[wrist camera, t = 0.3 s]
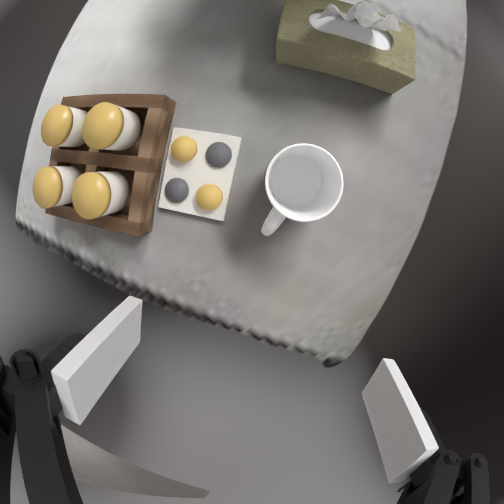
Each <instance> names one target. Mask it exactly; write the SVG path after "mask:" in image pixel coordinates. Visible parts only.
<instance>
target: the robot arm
mask: <svg viewBox="0 0 504 504" xmlns="http://www.w3.org/2000/svg"><path fill="white" fill-rule="evenodd" d="M141 314H142V300H141V299H138V298H135V297H132V296H129V297H128V298H126V299H125V300H124V301H123V302H122V303H121V304H120V305H119V306H118V307H117V308H116V309H114V310H113V311H112V312H111V313H110V314H109V315H108V316H107V317H106V318H105V319H104V320H103V321H101V322H100V323H99V324H98V325H97V326H96V327H95V328H94V329H93V330H92V331H91V332H90V333H89V334H88V335H87V336H84V335H82V334H80V333H76V334H73V335H71V336H68V337H67V338H66V339H65V340H64V341H63V342H62V344H60V345H59V346H57V348H56V349H54V350H53V351H52V352H51V353H50V354H49V355H48V356H47V357H46V358H44V360H42V361H40V357H39V356H38V355H37V353H35V352H33V351H31V350H26V349H25V350H19V351H17V352H15V353H14V354H13V355H12V356H11V358H10V364H11V367H9V366H6V365H4V363H3V361H2V358H1V357H0V504H10V481H11V464H12V455H13V447H14V439H15V433H16V430H17V441H18V449H19V456H20V463H21V469H22V474H23V478H24V483H25V488H26V492H27V496H28V499H29V503H30V504H83V502H82V499H81V496H80V494H79V491H78V488H77V485H76V482H75V479H74V476H73V473H72V469H71V466H70V462H69V459H68V455H67V451H66V447H65V443H64V439H63V434H62V429H61V424H60V419H59V416H58V414H59V413H60V411H61V410H62V409H63V411H64V414H65V417H67V418H68V419H70V420H72V421H73V422H75V423H77V424H79V425H81V424H82V422H83V421H84V419H85V418H86V416H87V415H88V413H89V412H90V411H91V409H92V408H93V406H94V405H95V403H96V402H97V400H98V399H99V398H100V396H101V395H102V393H103V392H104V391H105V389H106V388H107V386H108V385H109V384H110V382H111V381H112V379H113V378H114V377H115V375H116V374H117V372H118V371H119V370H120V368H121V367H122V366H123V364H124V363H125V362H126V360H127V359H128V357H129V356H130V355H131V353H132V352H133V351H134V349H135V348H136V347H137V345H138V344H139V343H140V329H141ZM362 396H363V399H364V402H365V405H366V408H367V411H368V414H369V418H370V421H371V424H372V427H373V430H374V433H375V436H376V440H377V443H378V447H379V450H380V453H381V457H382V460H383V464H384V467H385V471H386V474H387V478H388V482H389V484H390V483H396V482H402V481H403V480H404V479H405V478H407V477H408V476H409V475H410V477H411V480H410V481H409V482H407V483H406V484H405V485H404V486H402V487H401V488H400V489H399V490H398V491H397V492H400V491H401V490H402V489H404V490H403V492H402V493H401V496H400V498H399V500H398V502H397V504H490V496H489V495H490V494H489V475H488V466H487V461H486V459H485V457H484V456H483V455H482V454H479V453H475V454H473V455H472V456H471V457H470V458H469V459H468V460H466V459H459V456H458V455H457V454H456V453H455V452H454V451H452V450H445V448H444V446H443V444H442V442H441V440H440V437H439V435H438V434H437V432H436V430H435V427H434V425H433V424H432V421H431V419H430V418H429V416H428V415H427V413H426V412H425V411H424V410H423V409H420V408H419V406H418V404H417V402H416V400H415V398H414V396H413V394H412V392H411V390H410V389H409V387H408V385H407V383H406V381H405V379H404V377H403V375H402V374H401V372H400V370H399V368H398V367H397V365H396V363H395V361H394V360H392V359H385V358H383V359H382V361H381V363H380V365H379V366H378V368H377V370H376V371H375V373H374V375H373V376H372V378H371V379H370V381H369V383H368V384H367V386H366V387H365V389H364V390H363V392H362ZM462 489H464V493H463V494H462V495H460V496H459V492H460V491H461V490H462Z"/></svg>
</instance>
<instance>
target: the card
mask: <svg viewBox="0 0 504 504" xmlns="http://www.w3.org/2000/svg"><path fill="white" fill-rule="evenodd" d="M241 141H242V138H241V137H236V136H230V135H225V134H219V133H212V132H206V131H199V130H192V129H184V128H176V127H174V128H173V133H172V137H171V142H170V146H169V151H168V156H167V161H166V166H165V171H164V177H163V182H162V188H161V194H160V200H159V206H158V207H160V208H164V209H169V210H174V211H179V212H183V213H188V214H193V215H197V216H202V217H206V218H211V219H215V220H220V221H224V220H225V215H226V210H227V205H228V200H229V196H230V191H231V186H232V182H233V177H234V172H235V168H236V163H237V159H238V154H239V150H240V146H241Z"/></svg>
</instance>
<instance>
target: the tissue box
mask: <svg viewBox="0 0 504 504" xmlns="http://www.w3.org/2000/svg"><path fill="white" fill-rule="evenodd" d="M275 43H276V63H277V64H283V65H288V66H294V67H299V68H304V69H308V70H313V71H317V72H321V73H325V74H329V75H333V76H337V77H340V78H344V79H347V80H351V81H354V82H357V83H360V84H363V85H367V86H370V87H372V88H375V89H378V90H381V91H384V92H386V93H389V94H393V93H395V92H396V91H398V90H399V89H401V88H403V87H404V86H406V85H407V84H409V83H411V82H412V81H414V80H415V29H414V28H413V27H411V26H409V25H407V24H404V23H402V22H400V21H398V20H397V17H395V16H394V15H388V16H385V15H382V14H380V13H377V10H376V7H375V5H374V4H372V3H371V2H358V3H357V4H355V5H353V4H349V3H346V2H342V1H339V0H284V4H283V9H282V13H281V18H280V22H279V27H278V32H277V36H276V42H275Z"/></svg>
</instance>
